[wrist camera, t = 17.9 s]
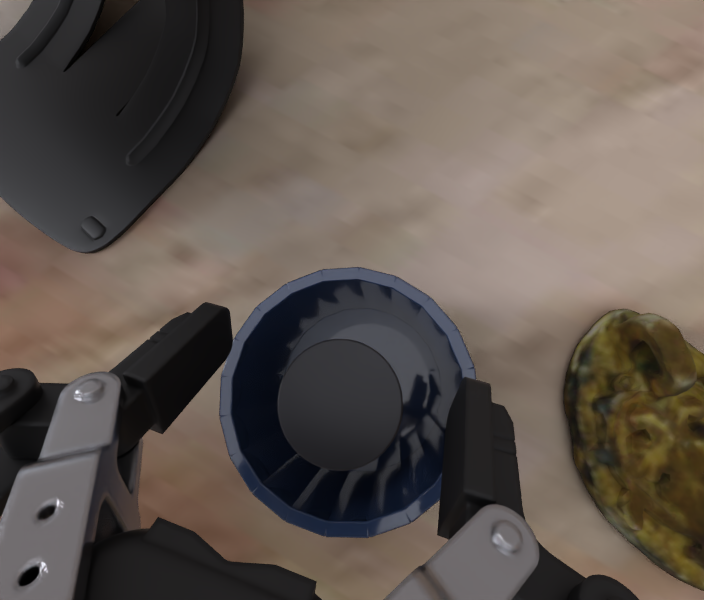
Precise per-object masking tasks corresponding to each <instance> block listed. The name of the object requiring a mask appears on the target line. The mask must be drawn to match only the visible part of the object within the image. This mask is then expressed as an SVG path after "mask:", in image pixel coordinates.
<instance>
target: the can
mask: <svg viewBox="0 0 704 600" xmlns="http://www.w3.org/2000/svg"><path fill="white" fill-rule="evenodd" d="M331 339H349V340H354V341H358V342H361V343H364V344H366V345H368V346H370V347H371V348H373V349H374V350H376V351H377V352H379V353H380V354H381V355H382V356H383V357H384V358H385V359H386V360H387V361H388V363H389V364H390V365H391V367H392V368H393V370H394V372H395V374H396V376H397V378H398V380H399V383H400V386H401V390H402V396H403V414H402V420H401V424H400V427H399V430H398V432H397V434H396V436H395V438H394V440H393V441H392V443H391V445H390V446H389V447H388V448H387V449H386V451H385V452H384V453H383V454H382V455H380V456H379V457H378V458H377V459H375V460H374V461H372V462H371V463H369V464H367V465H365V466H363V467H360V468H356V469H352V470H346V471H336V470H328V469H324V468H321V467H318V466H316V465H314V464H312V463H310V462H308V461H307V460H305V459H304V458H303V457H302V456H300V455H299V454H298V453H297V452H296V451H295V450H294V449H293V448H292V446H291V445H290V443H289V442H288V440H287V439H286V437H285V435H284V433H283V430H282V428H281V425H280V421H279V417H278V405H277V401H278V392H279V388H280V384H281V381H282V379H283V376H284V374H285V372H286V370H287V369H288V367H289V366H290V364H291V363H292V362H293V361H294V360H295V358H296V357H297V356H298V355H299V354H301V353H302V352H303V351H304V350H306V349H307V348H309V347H311V346H313V345H315V344H317V343H319V342H322V341H326V340H331ZM464 377H468V378H472V379H475V380H476V373H475V368H474V364H473V362H472V359H471V357H470V355H469V353H468V350H467V348H466V346H465V343H464V341H463V339H462V336H461V334H460V332H459V330H458V329H457V326H456V325H455V324H454V323H453V322H452V321H451V320H450V318H449V317H448V316H447V315H446V314H445V313H444V312H443V310H442V309H441V308H440V307H439V306H438V305H437V304H436V302H435V301H434V300H433V299H432V298H430V296H428V295H427V294H425V293H423V292H422V291H420V290H418V289H417V288H415V287H413V286H412V285H410V284H409V283H407V282H405V281H404V280H402V279H400V278H399V277H396V276H394V275H390V274H386V273H382V272H377V271H373V270H369V269H365V268H361V267H360V268H359V267H353V268H337V269H323V270H319V271H317V272H314V273H312V274H309V275H306V276H304V277H301V278H299V279H296V280H293V281H291V282H288V283H287V284H285V285H283V286H282V287H281V288H280V289H278V290H277V291H276V292H274V293H273V294H272V295H271V296H269V297H268V298H267V299H266V300H264V301H263V302H262V303H260V304H259V305H258V306H257V307H256V308H255V309H254V311H253V312H252V314H251V315H250V316H249V318H248V319H247V321H246V322H245V323H244V325H243V326H242V328H241V329H240V330H239V332H238V333H237V335H236V336H235V339H233V345H232V349H231V352H230V354H229V356H228V357H227V360H226V363H225V365H224V368H223V371H222V374H221V388H220V411H219V416H220V422H221V426H222V429H223V433H224V437H225V441H226V445H227V449H228V453H229V456H230V459H231V460H232V462H233V464H234V465H235V467H236V469H237V470H238V472H239V473H240V475H241V477H242V478H243V480H244V482H245V483H246V485H247V486H248V488H249V490H250V491H251V492H252V493H253V495H254V496H255V497H257V498H258V499H259V500H260V501H261V502H262V503H264V504H265V505H266V506H267V507H268V508H270V509H271V510H272V511H273V512H274V513H275V514H277V515H278V516H279V517H280V518H281V519H283V520H284V521H286V522H288V523H290V524H293V525H295V526H298V527H301V528H303V529H306V530H308V531H311V532H314V533H316V534H319V535H321V536H326V537H349V538H369V537H373V536H376V535H379V534H382V533H385V532H387V531H390V530H393V529H396V528H399V527H402V526H405V525H407V524H410V523H411V522H413V521H415V520H416V519H417V518H418V517H420V516H421V515H422V514H423V513H424V512H426V511H427V510H428V509H429V508H430V507H432V506H433V505H434V504H435V503H437V502H438V501H439V500H440V495H441V482H442V469H443V456H444V443H445V430H446V422H447V417H448V413H449V410H450V407H451V405H452V402H453V400H454V398H455V396H456V393H457V391H458V389H459V386H460V384H461V382H462V380H463V378H464Z"/></svg>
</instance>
